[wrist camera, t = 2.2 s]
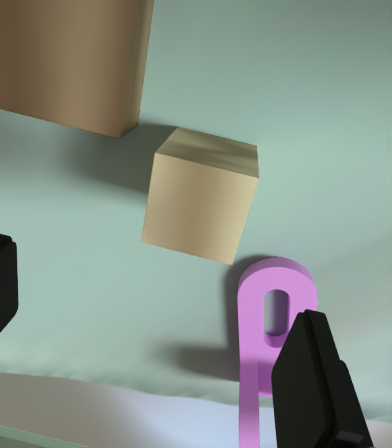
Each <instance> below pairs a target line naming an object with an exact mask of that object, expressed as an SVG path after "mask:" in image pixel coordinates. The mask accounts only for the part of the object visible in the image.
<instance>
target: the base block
mask: <svg viewBox="0 0 392 448" xmlns="http://www.w3.org/2000/svg"><path fill="white" fill-rule="evenodd" d="M153 4H154V0H0V109H2V110H6V111H10V112H14V113H18V114H22V115H26V116H30V117H34V118H38V119H42V120H46V121H50V122H54V123H58V124H62V125H66V126H70V127H74V128H78V129H82V130H87V131H91V132H95V133H99V134H103V135H107V136H111V137H115V138H120V137H122V136H123V135H125V134H126V133H127V132H129V131H130V130H132V129H133V128H135V127H136V126H137V125H138V120H139V112H140V105H141V97H142V89H143V81H144V74H145V66H146V58H147V50H148V43H149V35H150V27H151V19H152V12H153Z"/></svg>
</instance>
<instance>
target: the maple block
mask: <svg viewBox="0 0 392 448" xmlns="http://www.w3.org/2000/svg"><path fill="white" fill-rule="evenodd" d="M258 180H259V170H258V156H257V146H255V145H251V144H246V143H242V142H238V141H234V140H230V139H226V138H222V137H218V136H214V135H210V134H206V133H202V132H198V131H193V130H189V129H185V128H181V127H177V128H176V129H175V131H174V132H173V133H172V134H171V135H170V136H169V137H168V139H167V140H166V141H165V142H164V143H163V144H162V145H161V146H160V148H159V149H158V150H157V151H156V152H155V156H154V162H153V169H152V175H151V181H150V188H149V194H148V200H147V207H146V213H145V219H144V226H143V232H142V239H141V242H143V243H147V244H151V245H155V246H159V247H163V248H167V249H171V250H175V251H179V252H182V253H186V254H190V255H194V256H198V257H202V258H206V259H210V260H214V261H218V262H222V263H226V264H230V265H232V263H233V260H234V257H235V254H236V250H237V247H238V244H239V241H240V238H241V234H242V231H243V228H244V225H245V222H246V219H247V215H248V212H249V209H250V206H251V203H252V199H253V196H254V193H255V190H256V187H257V183H258Z"/></svg>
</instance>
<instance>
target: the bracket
mask: <svg viewBox="0 0 392 448" xmlns="http://www.w3.org/2000/svg"><path fill="white" fill-rule="evenodd" d="M274 289H280V290H283V291H285V292H286V293H288V315H287V330H286V332H285V333H284V334H282V335H280V336H271V335H268V334H267V333H265V331H264V296H265V294H266V293H267V292H269V291H271V290H274ZM317 301H318V296H317V291H316V288H315V284H314V280H313V278H312V276H311V274H310V273H309V271H308V270H307V269H306V268H305V267H304V266H302V265H301V264H299V263H298V262H296V261H293V260H290V259H287V258H280V257H273V258H266V259H262V260H259V261H257V262H255V263H253V264H252V265H250V266H249V267H248V268H247V269H246V270H245V271H244V272H243V273H242V275H241V277H240V279H239V283H238V323H239V348H240V388H239V448H260V440H259V438H260V436H259V396H268V397H273V395H272V384H271V373H272V369H273V366H274V364H275V362H276V360H277V358H278V355H279V353H280V351H281V349H282V346H283V344H284V342H285V340H286V338H287V335H288V333H289V331H290V329H291V327H292V324H293V322H294V320H295V318H296V316H297V314H298V312H304V310H305V309H310V310H314V311H317Z"/></svg>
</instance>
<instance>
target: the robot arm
mask: <svg viewBox="0 0 392 448" xmlns="http://www.w3.org/2000/svg"><path fill="white" fill-rule="evenodd" d="M17 310H18V275H17V246H16V243H15V242H12V238H11V237H10V236H7V235H3V234H0V332H1V331H2V330H3V329H4V328H5V327H6V325H7V324H8V323H9V322H10V321H11V319H12V318H13V317H14V316H15V314H16V312H17ZM271 384H272V395H273V406H274V417H275V428H276V438H277V448H374V446H373V443H372V440H371V437H370V434H369V431H368V428H367V425H366V422H365V419H364V416H363V413H362V410H361V407H360V404H359V401H358V398H357V395H356V392H355V389H354V386H353V383H352V380H351V377H350V374H349V371H348V368H347V366H346V364H345V363H344V362H343V361H342V360H340V358H339V355H338V352H337V349H336V346H335V343H334V340H333V336H332V333H331V330H330V327H329V324H328V321H327V318H326V315H325V314H324V313H322V312H318V311H314V310H310V309H305V310H304V312H298V314H297V316H296V318H295V320H294V322H293V324H292V327H291V329H290V331H289V333H288V335H287V338H286V340H285V342H284V344H283V346H282V349H281V351H280V353H279V355H278V358H277V360H276V362H275V364H274V366H273V369H272V373H271ZM0 448H91V447H87V446H83V445H79V444H75V443H71V442H66V441H63V440H59V439H55V438H50V437H46V436H42V435H38V434H34V433H30V432H26V431H22V430H18V429H14V428H9V427H6V426H1V425H0Z"/></svg>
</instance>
